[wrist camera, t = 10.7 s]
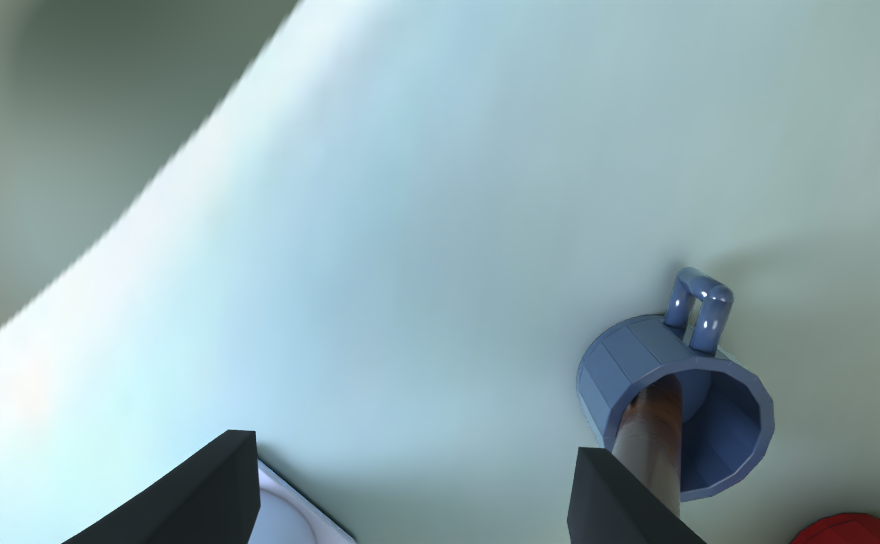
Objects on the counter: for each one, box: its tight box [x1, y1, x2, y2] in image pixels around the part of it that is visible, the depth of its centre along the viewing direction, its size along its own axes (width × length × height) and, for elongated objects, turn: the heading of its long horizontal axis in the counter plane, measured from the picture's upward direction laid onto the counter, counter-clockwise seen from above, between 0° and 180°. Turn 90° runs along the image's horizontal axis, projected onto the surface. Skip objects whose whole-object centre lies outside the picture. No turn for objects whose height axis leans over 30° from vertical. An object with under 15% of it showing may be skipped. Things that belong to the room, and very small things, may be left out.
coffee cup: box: [576, 267, 775, 502], centre depth 19 cm, size 9×6×4 cm
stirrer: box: [612, 374, 683, 518], centre depth 16 cm, size 2×2×10 cm
